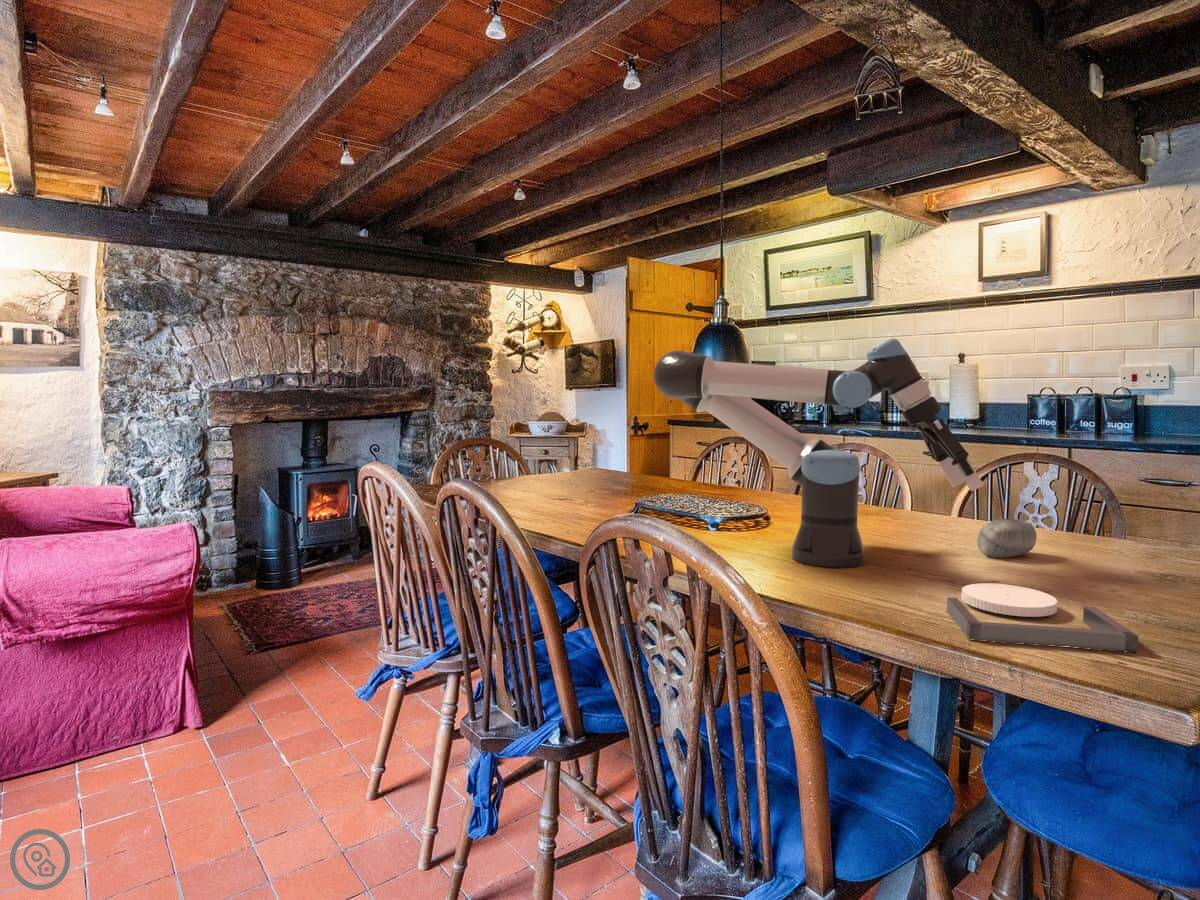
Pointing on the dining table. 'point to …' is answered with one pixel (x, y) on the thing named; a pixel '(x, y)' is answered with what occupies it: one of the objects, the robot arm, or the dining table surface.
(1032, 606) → the plastic lid
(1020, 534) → the grey yarn skein
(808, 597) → the dining table surface
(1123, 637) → the bracket
